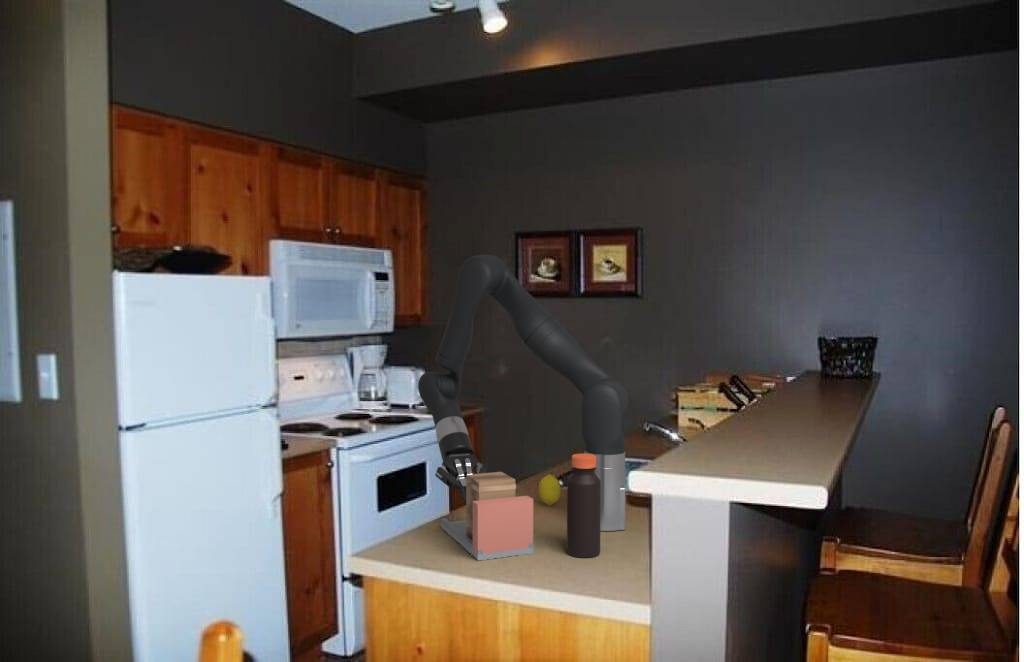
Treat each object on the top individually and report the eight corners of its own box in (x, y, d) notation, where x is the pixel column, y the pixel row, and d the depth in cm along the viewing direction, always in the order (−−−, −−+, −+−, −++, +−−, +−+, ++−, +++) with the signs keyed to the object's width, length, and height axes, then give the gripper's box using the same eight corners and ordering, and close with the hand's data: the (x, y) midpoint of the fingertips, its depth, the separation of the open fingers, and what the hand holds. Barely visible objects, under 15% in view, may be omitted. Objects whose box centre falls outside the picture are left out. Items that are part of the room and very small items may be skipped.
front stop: (472, 550, 156) (472, 501, 155) (527, 543, 160) (527, 495, 160) (477, 554, 153) (477, 504, 152) (533, 547, 157) (533, 499, 157)
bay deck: (441, 528, 175) (441, 518, 175) (490, 522, 180) (490, 513, 180) (477, 561, 153) (477, 550, 153) (533, 553, 157) (533, 542, 157)
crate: (465, 535, 165) (465, 474, 165) (501, 530, 168) (501, 471, 168) (478, 546, 158) (478, 482, 157) (515, 541, 161) (516, 479, 160)
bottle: (565, 557, 155) (566, 458, 154) (568, 547, 162) (568, 452, 161) (599, 559, 154) (600, 459, 153) (600, 548, 161) (601, 453, 160)
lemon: (558, 509, 191) (558, 477, 191) (536, 508, 193) (536, 476, 192) (561, 503, 197) (561, 472, 197) (540, 502, 198) (540, 471, 198)
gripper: (430, 432, 180) (446, 496, 169) (483, 429, 185) (502, 491, 174) (423, 451, 185) (439, 514, 174) (475, 447, 190) (493, 509, 179)
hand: (470, 503), depth 174 cm, fingers closed
